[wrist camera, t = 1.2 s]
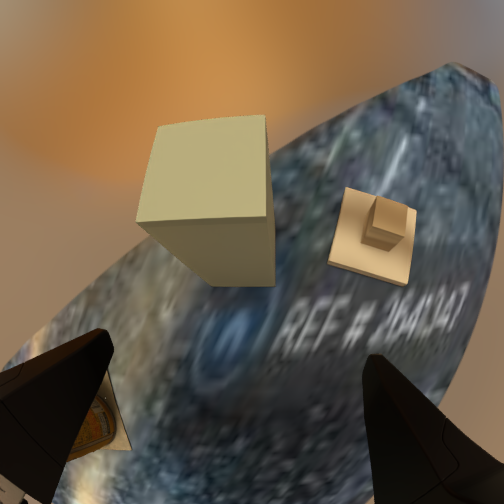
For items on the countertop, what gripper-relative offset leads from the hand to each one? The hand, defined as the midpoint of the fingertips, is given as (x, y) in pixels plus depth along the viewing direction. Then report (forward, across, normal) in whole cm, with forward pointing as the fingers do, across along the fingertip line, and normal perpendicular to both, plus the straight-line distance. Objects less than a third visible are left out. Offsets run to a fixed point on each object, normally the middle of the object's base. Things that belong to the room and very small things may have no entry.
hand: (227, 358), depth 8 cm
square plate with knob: (+16, -9, +1) cm, 19 cm away
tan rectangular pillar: (+15, +2, +3) cm, 15 cm away
